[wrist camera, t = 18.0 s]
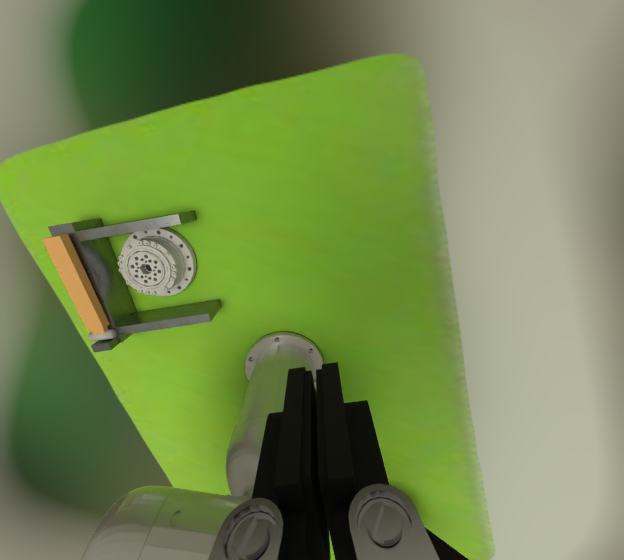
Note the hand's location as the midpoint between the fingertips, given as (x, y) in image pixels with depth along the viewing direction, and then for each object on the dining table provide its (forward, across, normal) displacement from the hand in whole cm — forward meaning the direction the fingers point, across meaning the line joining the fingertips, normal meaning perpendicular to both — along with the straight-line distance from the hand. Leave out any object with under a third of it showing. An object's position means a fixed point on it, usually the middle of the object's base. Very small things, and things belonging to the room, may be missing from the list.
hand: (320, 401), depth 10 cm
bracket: (+32, +24, +1) cm, 40 cm away
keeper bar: (+27, +30, +1) cm, 40 cm away
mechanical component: (+33, +22, 0) cm, 39 cm away
